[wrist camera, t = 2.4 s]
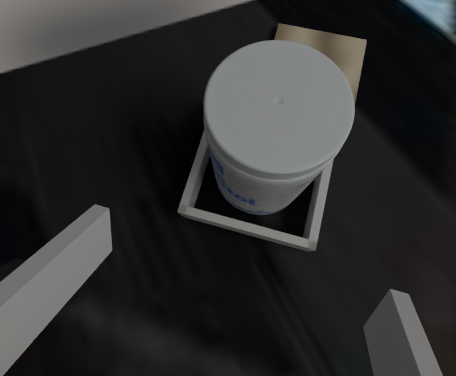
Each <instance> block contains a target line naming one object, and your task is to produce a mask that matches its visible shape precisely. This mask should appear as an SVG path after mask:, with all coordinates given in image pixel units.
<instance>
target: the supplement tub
mask: <svg viewBox="0 0 456 376" xmlns="http://www.w3.org/2000/svg"><path fill="white" fill-rule="evenodd" d="M354 110H355V108H354V98H353V94H352V90H351V87H350V85H349V83H348V81H347V79H346V77H345V75H344V74H343V73H342V71H341V70H340V69H339V67H338V66H337V65H336V64H335V63H334V62H333V61H332V60H331V59H329V58H328V57H327V56H325V55H324V54H322V53H321V52H319V51H317V50H316V49H313V48H311V47H309V46H307V45H304V44H301V43H297V42H292V41H284V40H269V41H261V42H257V43H253V44H250V45H247V46H245V47H242V48H241V49H239V50H237V51H235V52H234V53H232V54H231V55H229V56H228V57H227V58H226V59H224V60H223V61H222V62H221V63H220V65H219V66H218V67H217V68H216V69H215V71H214V72H213V74H212V75H211V77H210V79H209V82H208V84H207V87H206V91H205V95H204V129H205V134H206V139H207V143H208V147H209V152H210V156H211V160H212V164H213V169H214V173H215V177H216V181H217V184H218V187H219V189H220V191H221V193H222V195H223V196H224V197H225V199H226V200H227V201H228V202H229V203H230V204H232V205H233V206H234V207H236V208H238V209H240V210H242V211H244V212H247V213H251V214H256V215H264V214H271V213H275V212H277V211H280V210H282V209H283V208H285V207H286V206H288V205H289V204H290V203H291V202H292V201H293V200H294V199H295V198H296V197H297V196H298V195H299V194H300V193H301V192H302V191H303V190H304V189H305V188H306V187H307V186H308V185H309V184H310V183H311V182H312V181H313V180H314V179H315V178H316V177H317V176H318V175H319V174H320V173H321V172H322V171H323V170H324V168H325V167H326V166H327V165H328V164H329V163H330V162H331V161H332V160H333V159H334V157H335V156H336V155H337V153H338V152H339V150H340V149H341V147H342V145H343V144H344V142H345V140H346V139H347V137H348V135H349V133H350V130H351V128H352V124H353V119H354Z"/></svg>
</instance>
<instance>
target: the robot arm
mask: <svg viewBox="0 0 456 376" xmlns="http://www.w3.org/2000/svg"><path fill="white" fill-rule="evenodd" d="M111 251H112V241H111V227H110V212H109V208H106V207H102V206H99V205H93V206H92V207H91V208H90V209H89V210H87V211H86V212H85V213H84V214H82V215H81V216H80V217H79V218H78V219H76V220H75V221H74V222H73V223H72V224H70V225H69V226H68V227H67V228H65V229H64V230H63V231H62V232H61V233H59V234H58V235H57V236H56V237H54V238H53V239H52V240H51V241H50V242H48V243H47V244H46V245H45V246H44V247H42V248H41V249H40V250H39V251H37V252H36V253H35V254H34V255H33V256H31V257H30V258H29V259H28V260H27V261H26V260H23V259H20V258H17V259H14V260H12V261H10V262H8V263H6V264H4V265H2V266H0V376H3V375H4V374H5V372H6V371H7V370H8V369H9V368H10V367H11V366H12V364H13V363H14V362H15V361H16V360H17V359H18V358H19V356H20V355H21V354H22V353H23V352H24V351H25V350H26V348H27V347H28V346H29V345H30V344H31V343H32V342H33V340H34V339H35V338H36V337H37V336H38V335H39V334H40V332H41V331H42V330H43V329H44V328H45V327H46V326H47V324H48V323H49V322H50V321H51V320H52V319H53V318H54V316H55V315H56V314H57V313H58V312H59V311H60V310H61V308H62V307H63V306H64V305H65V304H66V303H67V301H68V300H69V299H70V298H71V297H72V296H73V295H74V293H75V292H76V291H77V290H78V289H79V288H80V287H81V285H82V284H83V283H84V282H85V281H86V280H87V279H88V277H89V276H90V275H91V274H92V273H93V272H94V271H95V269H96V268H97V267H98V266H99V265H100V264H101V263H102V261H103V260H104V259H105V258H106V257H107V256H108V255H109V253H110V252H111ZM363 328H364V332H365V337H366V342H367V346H368V351H369V355H370V360H371V365H372V369H373V374H374V376H443V375H442V373H441V370H440V368H439V365H438V363H437V361H436V358H435V356H434V354H433V351H432V349H431V346H430V344H429V342H428V339H427V337H426V335H425V332H424V330H423V327H422V325H421V323H420V320H419V318H418V315H417V313H416V311H415V308H414V306H413V304H412V301H411V299H410V296H409V294H406V293H403V292H399V291H396V290H392V289H390V290H389V291H388V293H387V294H386V295H385V297H384V298H383V300H382V301H381V302H380V304H379V305H378V307H377V308H376V310H375V311H374V312H373V314H372V315H371V317H370V318H369V320H368V321H367V322H366V324H365V325H364V327H363Z"/></svg>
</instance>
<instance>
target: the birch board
mask: <svg viewBox="0 0 456 376" xmlns="http://www.w3.org/2000/svg"><path fill="white" fill-rule="evenodd" d="M274 40H284V41H292V42H297V43H301V44H304V45H307V46H309V47H311V48H313V49H316V50H317V51H319V52H321V53H322V54H324V55H325V56H327V57H328V58H329V59H331V60H332V61H333V62H334V63H335V64H336V65H337V66H338V67H339V69H340V70H341V71H342V73H343V74H344V75H345V77H346V79H347V81H348V83H349V85H350V87H351V90H352V94H353V98H354V106H355V101H356V95H357V90H358V84H359V79H360V74H361V68H362V63H363V58H364V52H365V47H366V41H367V40H364V39H359V38H353V37H348V36H343V35H338V34H332V33H327V32H322V31H317V30H311V29H306V28H301V27H295V26H290V25H285V24H280V23H279V25H278V29H277V32H276V36H275V39H274Z"/></svg>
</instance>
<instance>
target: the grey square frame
mask: <svg viewBox="0 0 456 376" xmlns="http://www.w3.org/2000/svg"><path fill="white" fill-rule="evenodd" d="M209 158H210V152H209V147H208V143H207V139H206V134H205V129H204V132H203V135H202V139H201V142H200V145H199V148H198V151H197V154H196V157H195V160H194V163H193V166H192V169H191V172H190V175H189V178H188V181H187V184H186V187H185V190H184V193H183V196H182V199H181V202H180V205H179V208H178V211H177V212H178V213H179V214H180V215H182V216H183V217H186V218H189V219H193V220H196V221H200V222H204V223H207V224H211V225H214V226H218V227H222V228H225V229H229V230H232V231H236V232H240V233H243V234H247V235H250V236H254V237H258V238H261V239H265V240H268V241H272V242H276V243H279V244H283V245H286V246H290V247H294V248H297V249H301V250H304V251H314V250H316V245H317V240H318V235H319V230H320V225H321V220H322V215H323V210H324V205H325V200H326V194H327V189H328V184H329V179H330V174H331V169H332V164H333V160H332V161H331V162H330V163H329V164H328V165H327V166H326V167H325V168H324V170H323V171H322V172H321V173H320V174H319V175H318V176H317V177H316V178H315V181H314V186H313V191H312V195H311V200H310V205H309V210H308V214H307V219H306V224H305V229H304V233H303V238H302V237H298V236H294V235H291V234H287V233H283V232H280V231H276V230H272V229H269V228H265V227H261V226H258V225H254V224H250V223H247V222H243V221H239V220H236V219H232V218H228V217H225V216H221V215H217V214H214V213H210V212H206V211H203V210H199V209H195V208H194V205H195V202H196V199H197V196H198V193H199V190H200V186H201V183H202V180H203V177H204V174H205V171H206V167H207V164H208V161H209Z"/></svg>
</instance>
